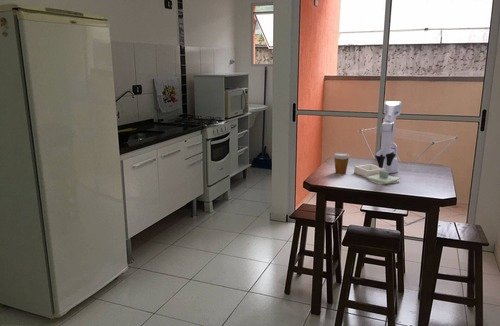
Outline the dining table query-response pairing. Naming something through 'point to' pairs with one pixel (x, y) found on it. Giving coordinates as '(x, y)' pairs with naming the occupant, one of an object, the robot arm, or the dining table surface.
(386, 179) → the lid
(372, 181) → the mat
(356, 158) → the dining table surface
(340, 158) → the disposable coffee cup
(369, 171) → the tub
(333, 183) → the dining table surface
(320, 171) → the dining table surface
